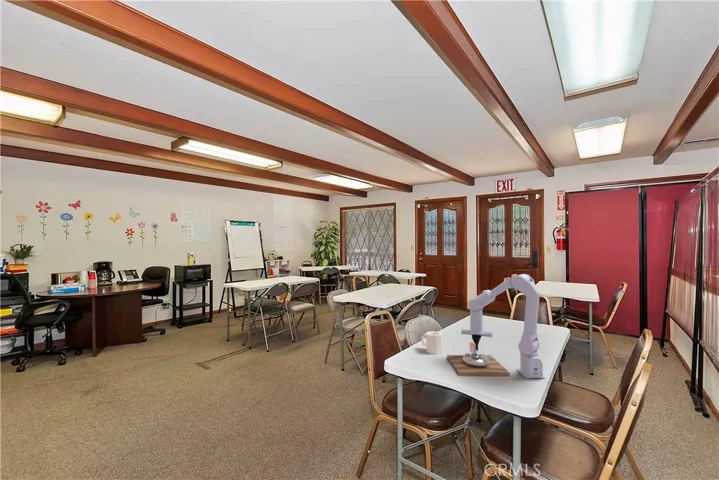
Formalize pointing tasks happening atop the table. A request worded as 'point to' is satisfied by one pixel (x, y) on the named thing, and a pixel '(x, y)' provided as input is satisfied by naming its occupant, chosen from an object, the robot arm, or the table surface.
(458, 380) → the table surface
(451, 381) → the table surface
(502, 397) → the table surface
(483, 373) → the base plate
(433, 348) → the mug
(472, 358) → the silver orange handled piece
